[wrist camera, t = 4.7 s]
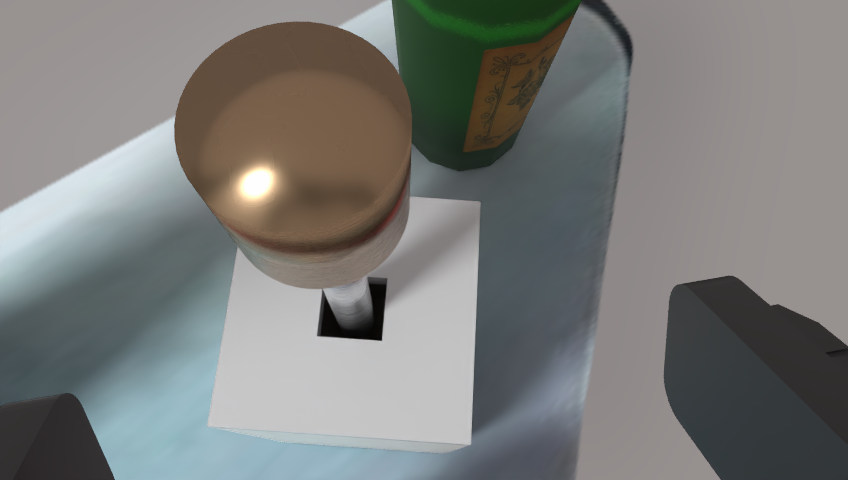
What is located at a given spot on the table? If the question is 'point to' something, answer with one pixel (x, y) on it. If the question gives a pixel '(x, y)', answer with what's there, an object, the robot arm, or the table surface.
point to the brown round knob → (303, 157)
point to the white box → (360, 348)
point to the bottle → (474, 71)
